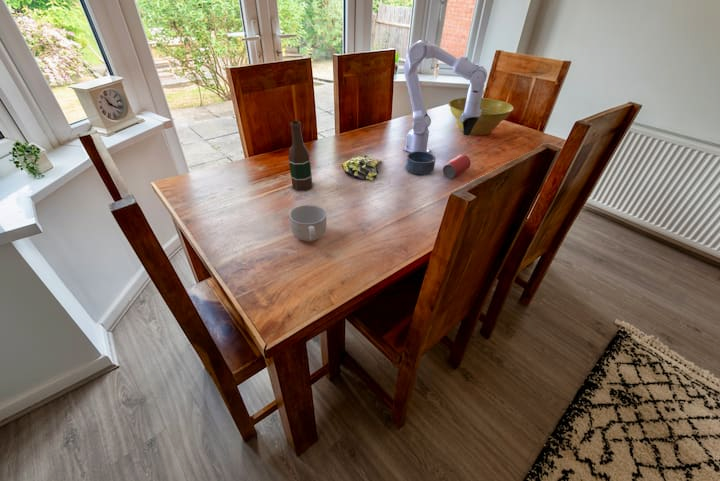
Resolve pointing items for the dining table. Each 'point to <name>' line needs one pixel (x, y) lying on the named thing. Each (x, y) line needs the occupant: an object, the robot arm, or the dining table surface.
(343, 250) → the dining table surface
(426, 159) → the bowl
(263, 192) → the dining table surface
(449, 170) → the beer can
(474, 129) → the planter bowl
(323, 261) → the dining table surface
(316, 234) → the teacup
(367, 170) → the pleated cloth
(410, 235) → the dining table surface
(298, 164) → the beer bottle
